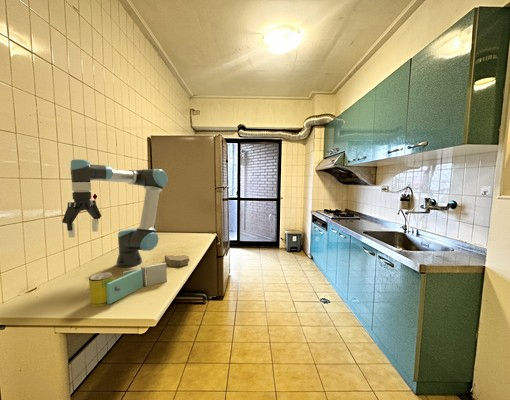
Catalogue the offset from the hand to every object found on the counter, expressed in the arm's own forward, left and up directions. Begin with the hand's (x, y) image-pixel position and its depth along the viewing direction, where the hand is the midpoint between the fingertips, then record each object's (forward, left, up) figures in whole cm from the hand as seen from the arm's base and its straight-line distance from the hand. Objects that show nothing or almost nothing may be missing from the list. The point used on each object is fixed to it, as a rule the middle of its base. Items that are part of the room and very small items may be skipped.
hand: (84, 234), depth 120 cm
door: (+19, +15, -28) cm, 37 cm away
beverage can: (+18, +5, -29) cm, 35 cm away
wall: (+11, +25, -29) cm, 40 cm away
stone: (-13, +50, -29) cm, 60 cm away
